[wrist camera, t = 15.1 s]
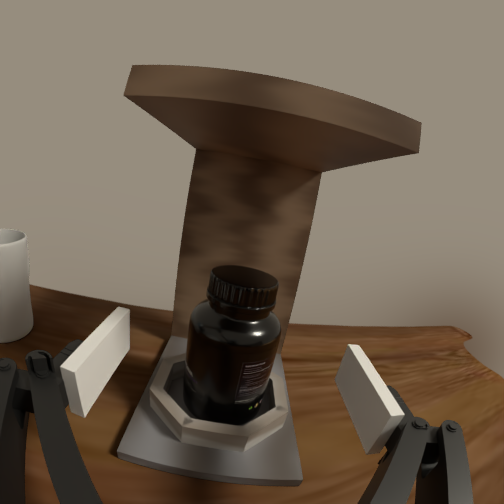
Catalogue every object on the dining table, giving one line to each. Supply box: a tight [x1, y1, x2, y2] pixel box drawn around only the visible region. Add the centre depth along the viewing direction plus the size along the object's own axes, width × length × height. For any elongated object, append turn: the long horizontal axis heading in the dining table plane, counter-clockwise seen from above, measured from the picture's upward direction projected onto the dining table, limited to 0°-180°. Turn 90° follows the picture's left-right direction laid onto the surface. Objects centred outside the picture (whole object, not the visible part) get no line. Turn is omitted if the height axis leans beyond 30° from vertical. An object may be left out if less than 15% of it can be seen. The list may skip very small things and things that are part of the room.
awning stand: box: [117, 65, 421, 486], centre depth 22 cm, size 13×20×24 cm, turn 1°
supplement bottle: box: [183, 265, 282, 426], centre depth 21 cm, size 7×7×12 cm
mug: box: [0, 229, 33, 343], centre depth 24 cm, size 12×8×11 cm
